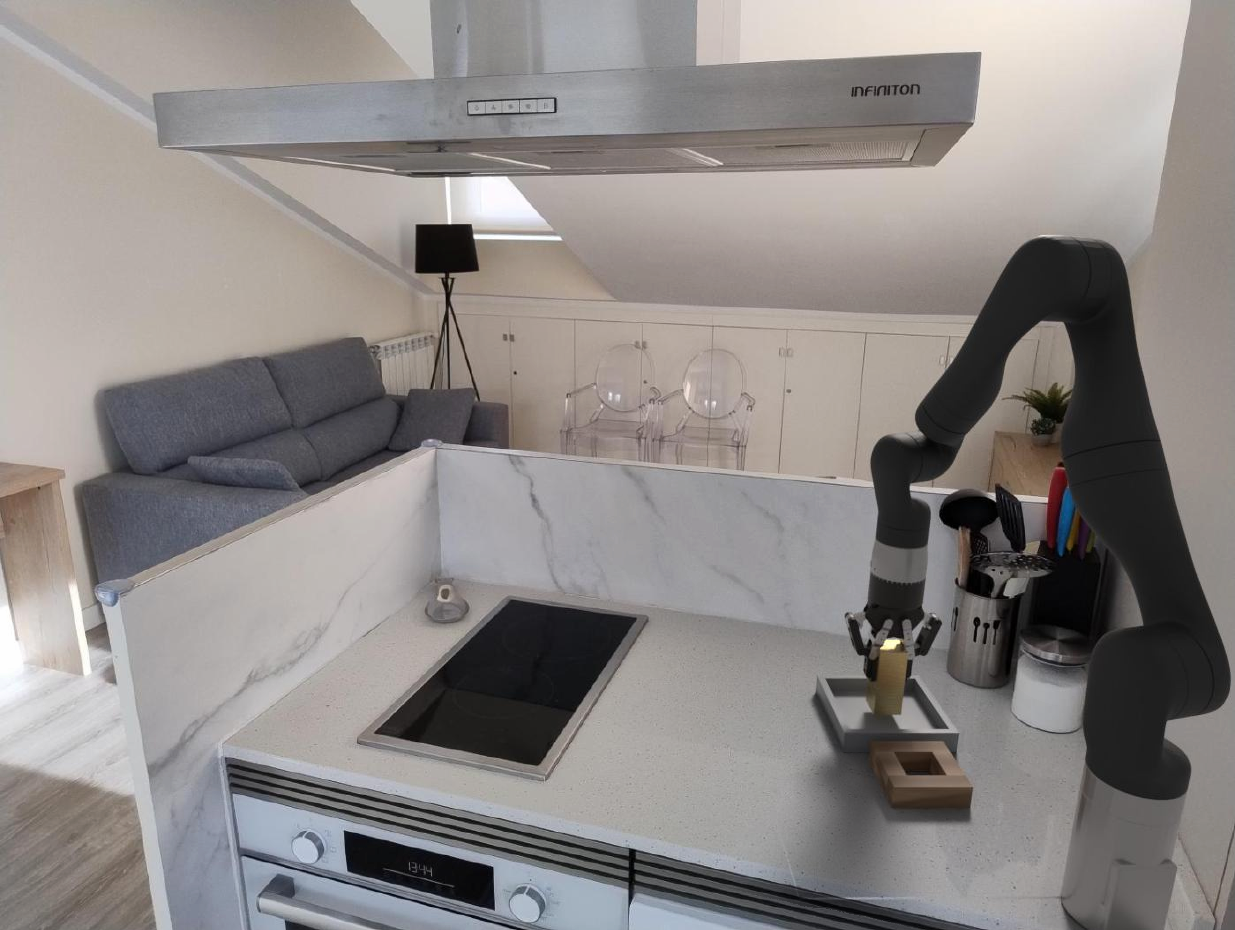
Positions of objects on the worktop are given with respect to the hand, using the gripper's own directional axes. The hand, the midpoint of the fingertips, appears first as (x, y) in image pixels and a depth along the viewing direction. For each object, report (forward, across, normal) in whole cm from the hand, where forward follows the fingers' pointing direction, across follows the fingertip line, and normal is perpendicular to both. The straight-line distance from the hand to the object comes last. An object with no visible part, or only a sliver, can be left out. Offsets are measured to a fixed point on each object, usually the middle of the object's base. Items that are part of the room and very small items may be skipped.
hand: (886, 678), depth 128 cm
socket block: (+7, 0, -15) cm, 16 cm away
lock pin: (+5, 0, 0) cm, 5 cm away
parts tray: (+7, 0, 0) cm, 7 cm away
